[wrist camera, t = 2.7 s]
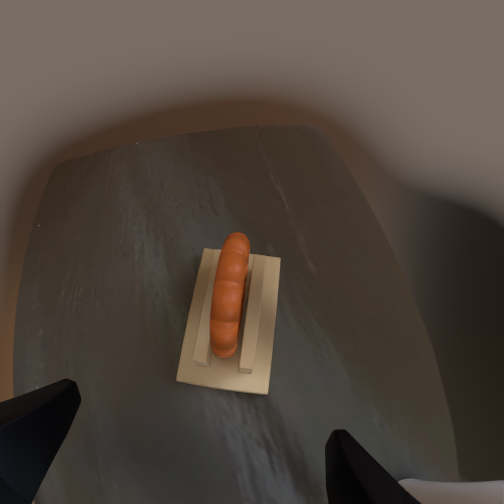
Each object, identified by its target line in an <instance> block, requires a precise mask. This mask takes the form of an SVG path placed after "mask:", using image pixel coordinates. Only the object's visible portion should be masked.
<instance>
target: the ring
mask: <svg viewBox="0 0 504 504" xmlns="http://www.w3.org/2000/svg"><path fill="white" fill-rule="evenodd" d="M249 254H250V243H249V240H248V238H247V237H246V236H245V235H244V234H242V233H239V232H235V233H232V234H230V235H229V236H227V238H226V239H225V242H224V245H223V247H222V250H221V253H220V256H219V261H218V265H217V270H216V275H215V280H214V286H213V294H212V303H211V312H210V346H211V348H212V350H213V353H214V354H215V355H216V356H217V357H218V358H220V359H228V358H231V357H232V356H233V355H234V354H235V352H236V349H237V344H238V339H239V332H240V326H241V319H242V312H243V305H244V297H245V289H246V282H247V273H248V264H249Z"/></svg>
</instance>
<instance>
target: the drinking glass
mask: <svg viewBox="0 0 504 504" xmlns="http://www.w3.org/2000/svg"><path fill="white" fill-rule="evenodd" d="M398 483H399V484H400V485H401V486H402V487H403V488H404V489H405V490H406V491H408V492H409V493H410V494H411V495H412V496H413V497H414V498H416V499H417V500H418V501H419V502H420V503H421V504H504V480H499V481H484V482H433V481H423V480H418V479H412V478H409V479H403V480H400V481H398Z"/></svg>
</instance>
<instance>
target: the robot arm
mask: <svg viewBox="0 0 504 504" xmlns="http://www.w3.org/2000/svg"><path fill="white" fill-rule="evenodd" d="M80 403H81V396H80V393H79V389H78V386H77V384H76V382H74V381H72V380H70V379H63V380H61V381H58V382H56V383H53V384H50V385H48V386H45V387H42V388H40V389H37V390H34V391H32V392H29V393H26V394H23V395H20V396H18V397H15V398H12V399H9V400H6V401H3V402H0V504H32V502H33V500H34V497H35V495H36V493H37V491H38V489H39V487H40V485H41V483H42V481H43V479H44V477H45V475H46V473H47V471H48V469H49V467H50V465H51V463H52V461H53V459H54V458H55V456H56V454H57V452H58V450H59V448H60V446H61V445H62V443H63V441H64V439H65V437H66V435H67V434H68V431H69V429H70V427H71V424H72V422H73V420H74V417H75V415H76V413H77V410H78V408H79V406H80ZM325 463H326V489H327V496H328V503H329V504H421V503H420V502H419V501H418V500H417V499H416V498H414V497H413V496H412V495H411V494H410V493H409V492H408V491H406V490H405V489H404V488H403V487H402V486H401V485H400V484H399V483H398V482H397V481H396V480H395V479H394V478H393V477H392V476H391V475H390V474H389V473H388V472H387V471H386V470H385V469H384V468H383V467H382V466H381V465H380V464H379V463H378V462H377V461H376V460H375V459H374V458H373V457H372V456H371V455H370V454H369V453H368V452H367V451H366V450H365V449H364V448H363V447H362V446H361V445H360V444H359V443H358V442H357V441H356V440H355V439H354V438H353V437H352V436H351V435H350V434H349V433H348V432H347V431H346V430H344V429H340V430H333V431H332V433H331V435H330V437H329V439H328V441H327V443H326V446H325Z"/></svg>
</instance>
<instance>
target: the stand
mask: <svg viewBox="0 0 504 504" xmlns="http://www.w3.org/2000/svg"><path fill="white" fill-rule="evenodd" d="M220 253H221V250H217V249H215V250H214V249H207V248H204V250H203V254H202V259H201V263H200V267H199V271H198V276H197V280H196V284H195V289H194V293H193V298H192V302H191V307H190V311H189V316H188V321H187V326H186V330H185V335H184V340H183V345H182V351H181V356H180V361H179V366H178V372H177V377H176V381H178V382H182V383H187V384H192V385H197V386H203V387H208V388H214V389H221V390H227V391H235V392H242V393H251V394H260V395H267V394H268V389H269V380H270V370H271V361H272V351H273V341H274V331H275V320H276V309H277V297H278V285H279V272H280V258H277V257H269V256H264V255H256V254H254V255H253V254H249V264H248V273H247V282H246V289H245V297H244V305H243V312H242V319H241V326H240V332H239V339H238V344H237V349H236V352H235V354H234V355H233V356H232V357H231V358H228V359H220V358H218V357H217V356H216V355H215V354H214V353H213V350H212V348H211V346H210V312H211V303H212V294H213V286H214V280H215V275H216V270H217V265H218V261H219V256H220Z"/></svg>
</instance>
